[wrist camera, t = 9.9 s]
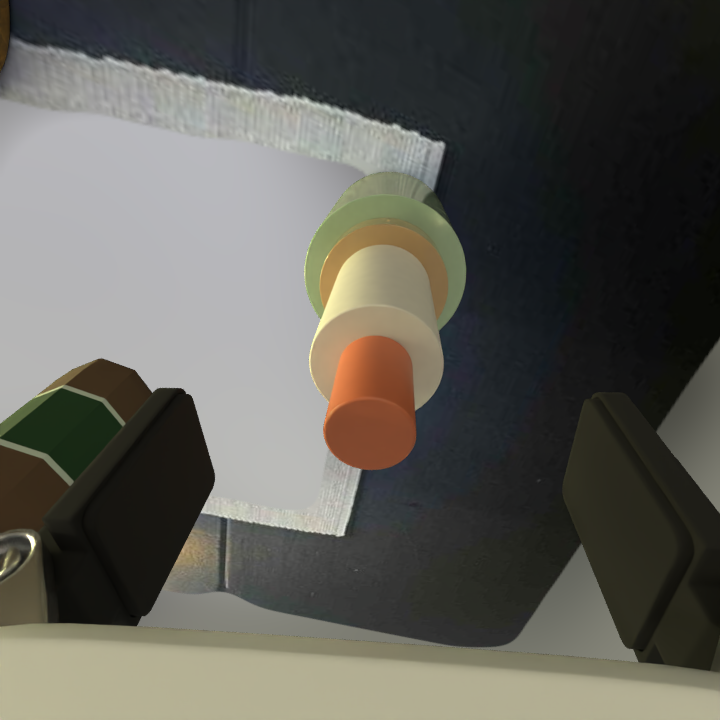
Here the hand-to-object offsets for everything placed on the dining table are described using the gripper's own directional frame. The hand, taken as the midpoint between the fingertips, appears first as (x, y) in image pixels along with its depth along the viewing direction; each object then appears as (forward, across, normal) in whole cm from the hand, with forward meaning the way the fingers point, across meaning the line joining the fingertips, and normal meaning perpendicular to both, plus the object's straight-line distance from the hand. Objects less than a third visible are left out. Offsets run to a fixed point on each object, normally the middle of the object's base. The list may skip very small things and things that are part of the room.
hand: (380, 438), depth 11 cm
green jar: (+21, 0, 0) cm, 21 cm away
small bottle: (+11, 0, 0) cm, 11 cm away
